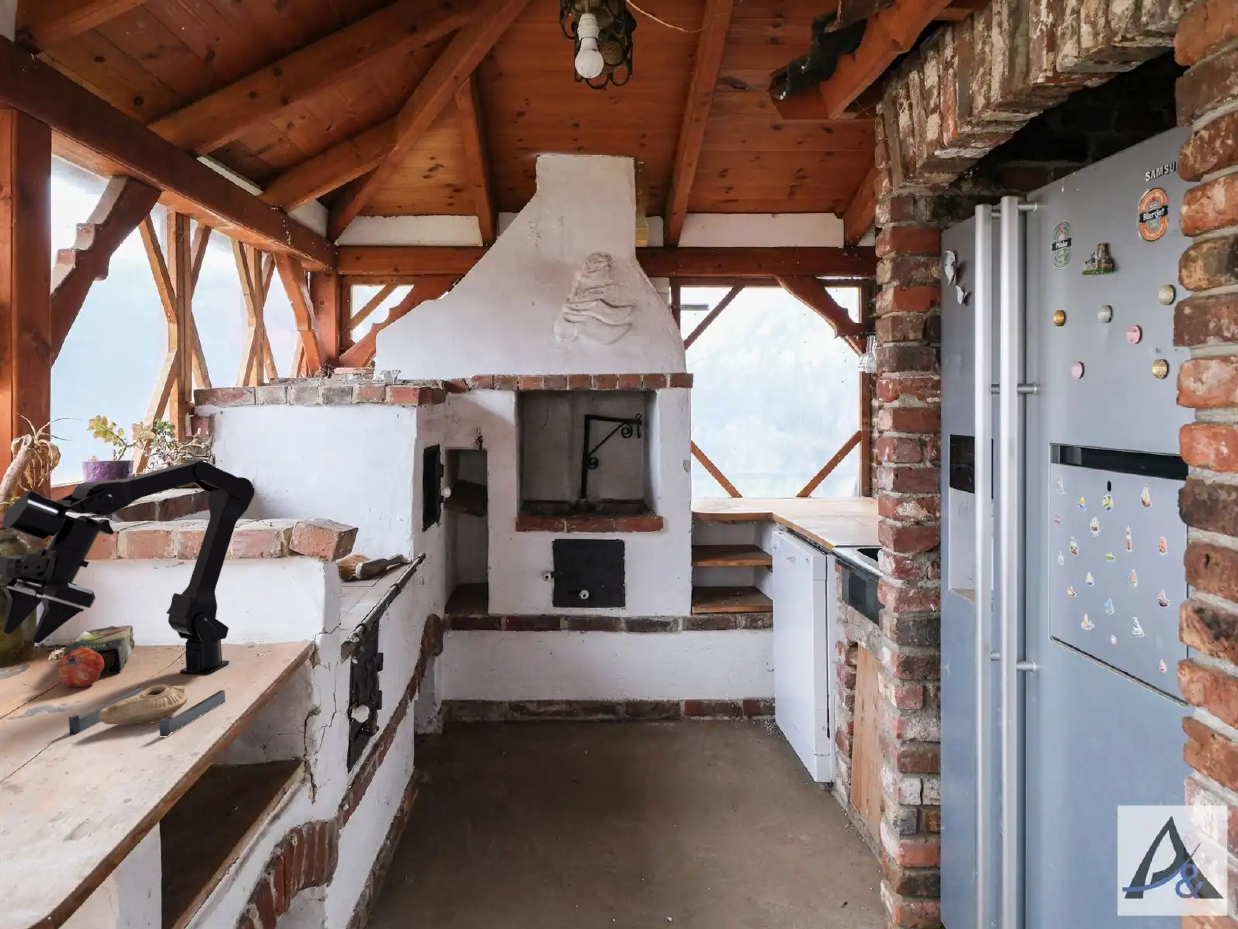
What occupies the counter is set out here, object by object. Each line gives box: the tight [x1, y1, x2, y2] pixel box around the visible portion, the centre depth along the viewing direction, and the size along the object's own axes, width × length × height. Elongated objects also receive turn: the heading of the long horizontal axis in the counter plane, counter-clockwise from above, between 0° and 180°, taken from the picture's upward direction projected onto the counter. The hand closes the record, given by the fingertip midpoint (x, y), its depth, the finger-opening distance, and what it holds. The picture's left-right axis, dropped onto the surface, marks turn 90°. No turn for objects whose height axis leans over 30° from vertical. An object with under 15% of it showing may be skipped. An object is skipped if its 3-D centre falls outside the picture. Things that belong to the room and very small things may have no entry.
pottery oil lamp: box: [98, 684, 189, 725], centre depth 127 cm, size 9×12×7 cm
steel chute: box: [68, 687, 226, 737], centre depth 129 cm, size 15×17×3 cm
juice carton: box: [62, 625, 136, 674], centre depth 158 cm, size 20×10×6 cm, turn 26°
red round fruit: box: [57, 647, 105, 688], centre depth 145 cm, size 7×7×10 cm
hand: (20, 638), depth 126 cm, fingers open, 9 cm apart
